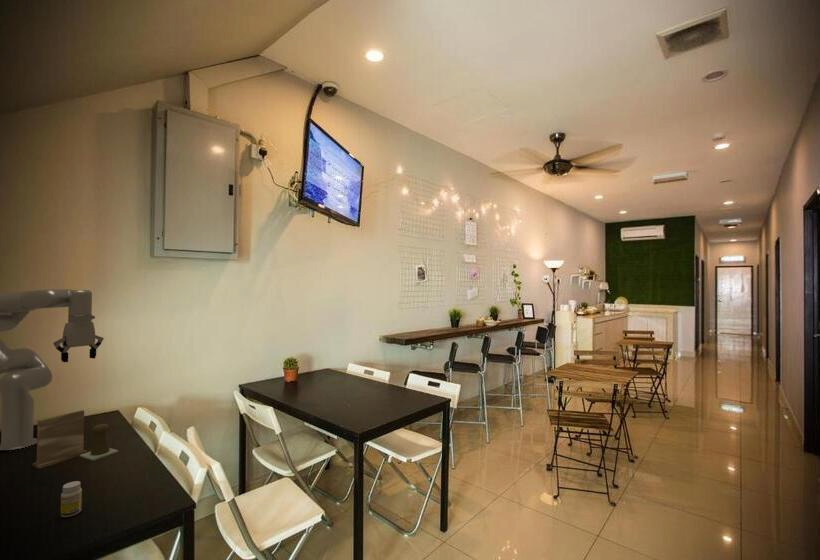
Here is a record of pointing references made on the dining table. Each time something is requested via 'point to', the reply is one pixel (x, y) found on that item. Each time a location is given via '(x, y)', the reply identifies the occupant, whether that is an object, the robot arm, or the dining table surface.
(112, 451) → the coaster
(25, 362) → the robot arm
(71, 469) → the dining table surface
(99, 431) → the cork
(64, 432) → the wooden board
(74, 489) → the supplement bottle
